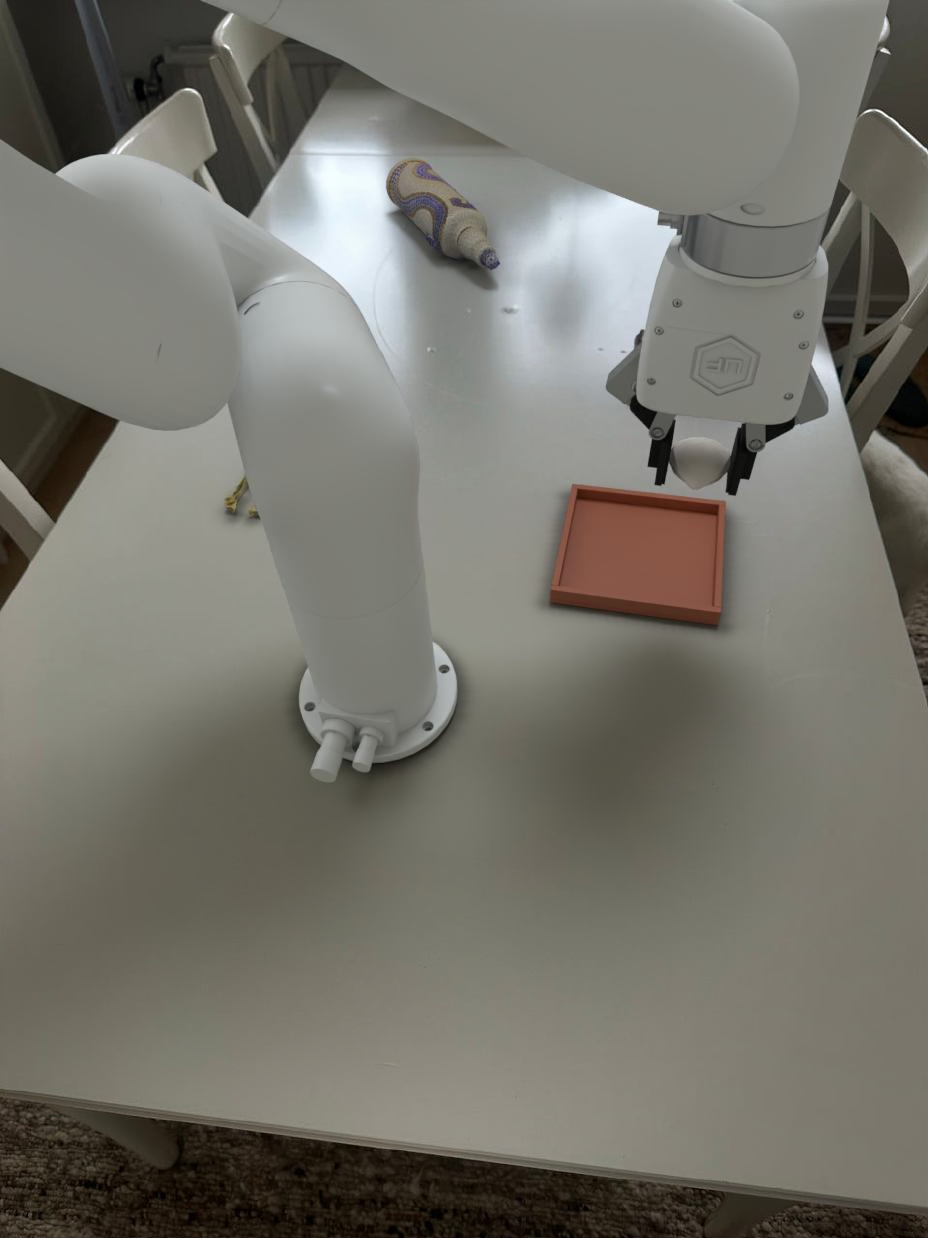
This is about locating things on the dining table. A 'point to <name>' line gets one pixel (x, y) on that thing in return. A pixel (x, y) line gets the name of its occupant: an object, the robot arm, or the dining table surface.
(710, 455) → the white rounded flat piece
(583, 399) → the dining table surface
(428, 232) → the decorative bottle
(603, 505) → the tray
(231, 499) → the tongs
